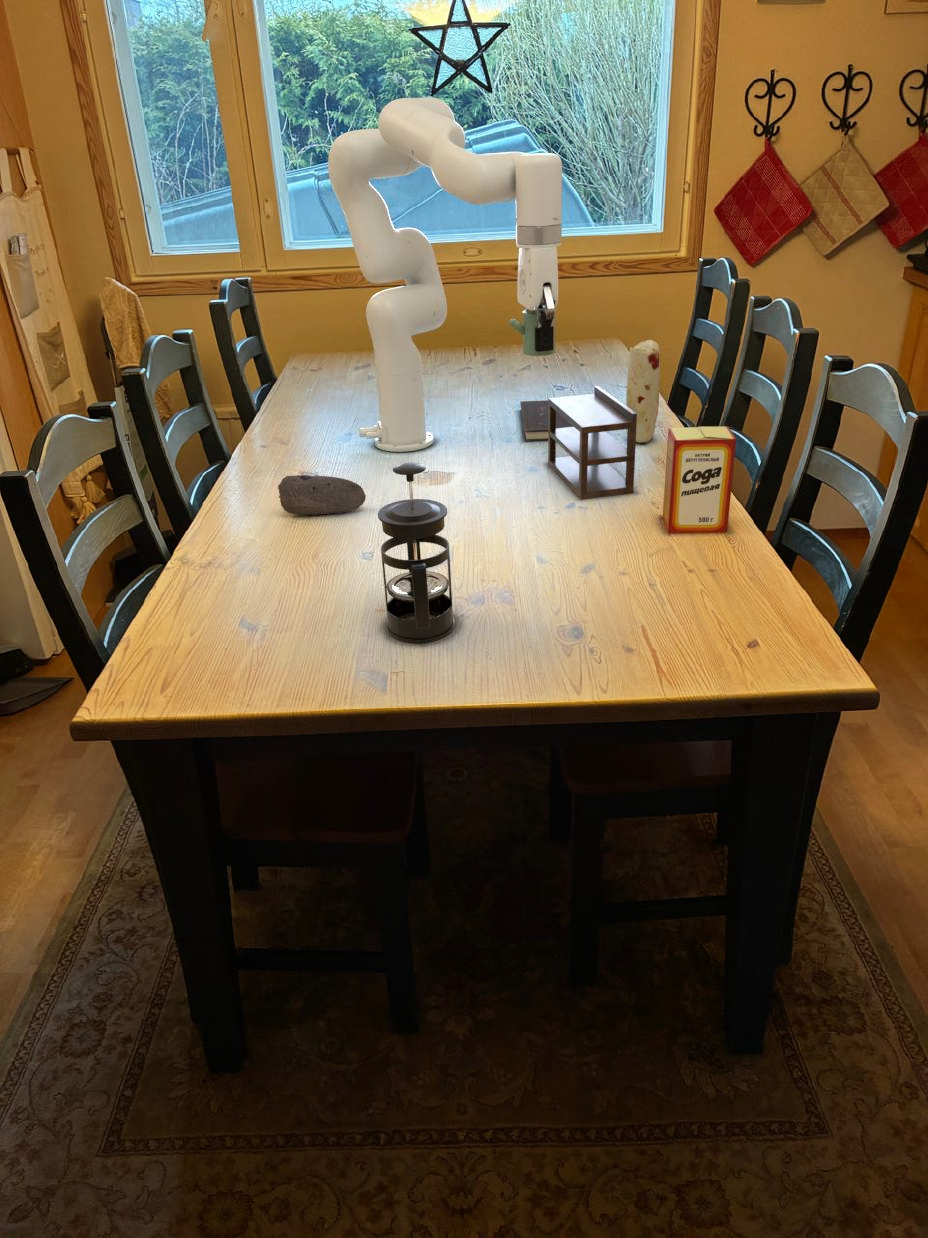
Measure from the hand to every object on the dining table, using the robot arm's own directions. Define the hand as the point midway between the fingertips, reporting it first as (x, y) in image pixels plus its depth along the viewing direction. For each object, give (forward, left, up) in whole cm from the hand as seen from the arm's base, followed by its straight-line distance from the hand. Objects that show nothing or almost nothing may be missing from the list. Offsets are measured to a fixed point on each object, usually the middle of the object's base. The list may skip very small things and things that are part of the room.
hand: (539, 345), depth 165 cm
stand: (+10, -1, -25) cm, 27 cm away
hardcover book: (+15, +34, -25) cm, 45 cm away
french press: (-31, -50, -25) cm, 64 cm away
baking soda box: (+19, -28, -25) cm, 42 cm away
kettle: (-1, 0, -1) cm, 2 cm away
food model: (+28, +18, -25) cm, 42 cm away
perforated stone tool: (-40, -3, -25) cm, 48 cm away
